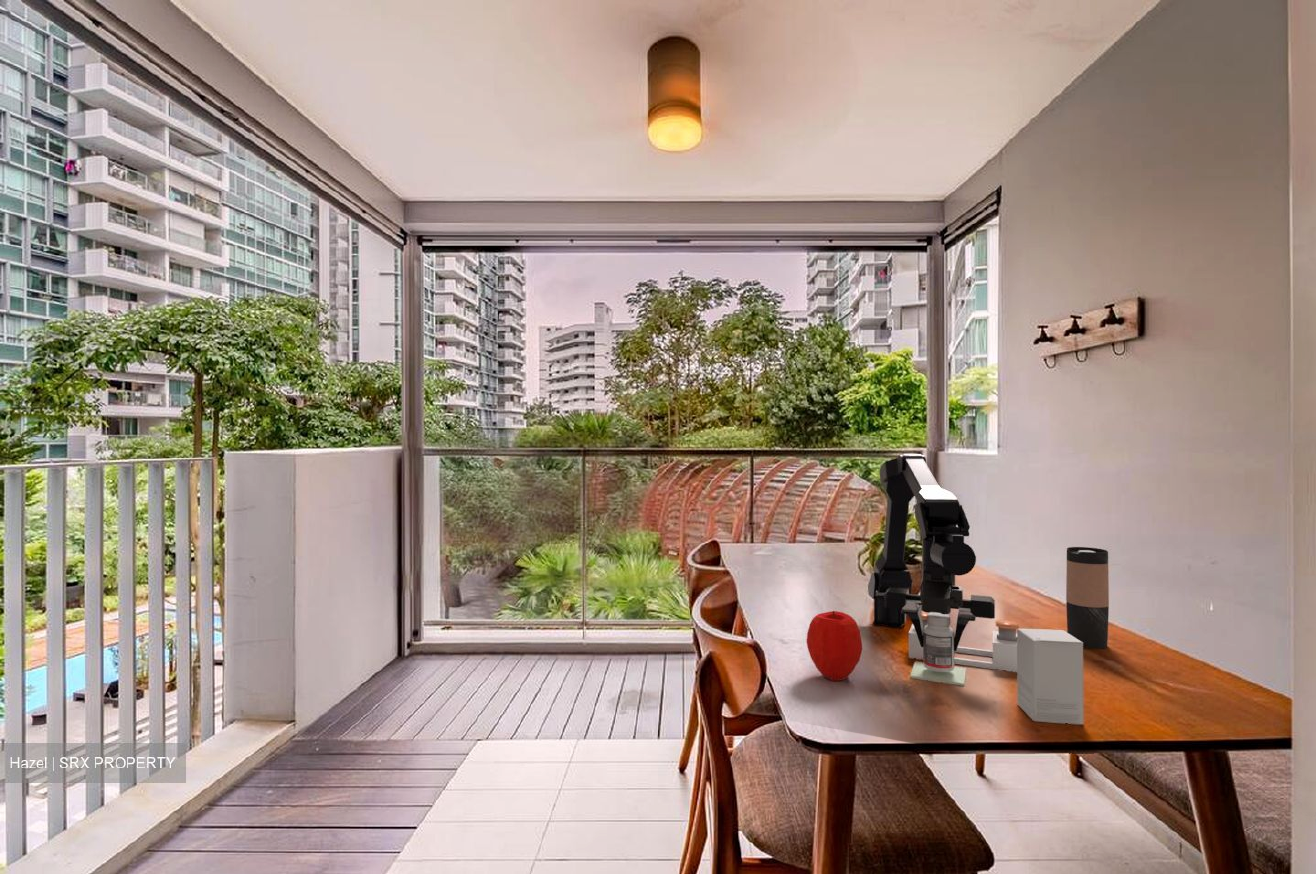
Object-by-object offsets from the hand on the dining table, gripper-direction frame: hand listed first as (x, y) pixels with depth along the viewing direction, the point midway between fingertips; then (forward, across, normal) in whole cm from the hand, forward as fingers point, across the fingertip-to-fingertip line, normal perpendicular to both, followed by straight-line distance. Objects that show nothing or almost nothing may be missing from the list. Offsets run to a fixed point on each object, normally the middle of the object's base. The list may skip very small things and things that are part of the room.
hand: (938, 648), depth 126 cm
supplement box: (+5, +17, -12) cm, 21 cm away
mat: (+5, 0, 0) cm, 5 cm away
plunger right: (+2, +12, +12) cm, 17 cm away
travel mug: (+5, +27, +34) cm, 44 cm away
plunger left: (+2, -3, +12) cm, 13 cm away
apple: (+5, -17, -10) cm, 20 cm away
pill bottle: (+4, 0, 0) cm, 4 cm away
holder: (+5, +4, +12) cm, 13 cm away
